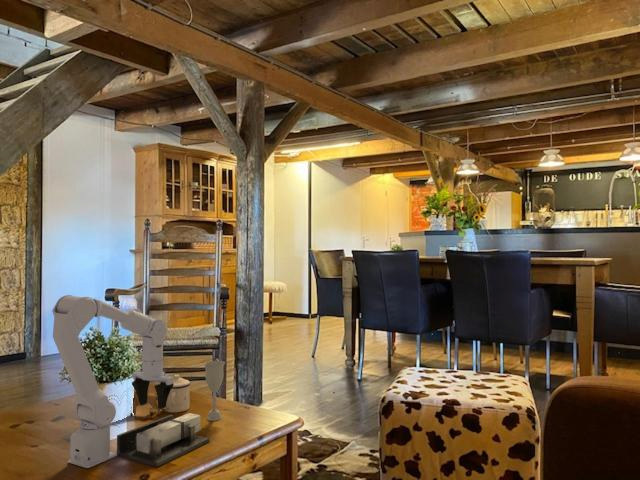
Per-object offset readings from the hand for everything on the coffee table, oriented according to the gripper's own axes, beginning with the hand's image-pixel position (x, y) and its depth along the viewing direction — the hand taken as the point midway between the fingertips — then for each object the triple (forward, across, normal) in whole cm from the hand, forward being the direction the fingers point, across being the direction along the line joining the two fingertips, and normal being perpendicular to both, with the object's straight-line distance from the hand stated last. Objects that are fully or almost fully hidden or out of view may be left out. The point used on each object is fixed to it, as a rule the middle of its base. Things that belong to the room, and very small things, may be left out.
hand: (152, 406), depth 156 cm
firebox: (+9, -10, +4) cm, 14 cm away
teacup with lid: (+10, +13, -23) cm, 28 cm away
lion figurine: (+10, +20, -14) cm, 26 cm away
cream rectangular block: (+7, -10, +2) cm, 12 cm away
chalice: (+10, -4, -23) cm, 25 cm away
